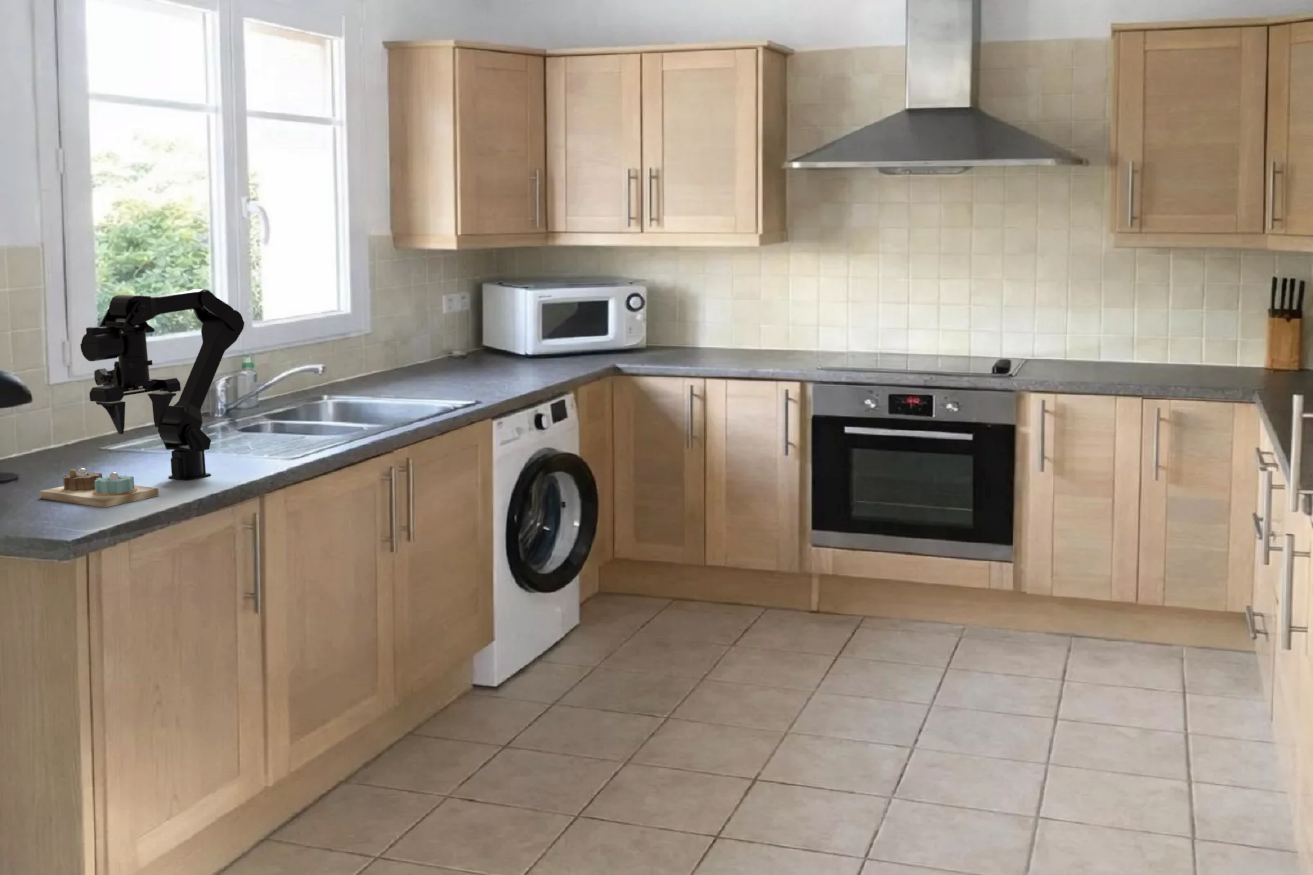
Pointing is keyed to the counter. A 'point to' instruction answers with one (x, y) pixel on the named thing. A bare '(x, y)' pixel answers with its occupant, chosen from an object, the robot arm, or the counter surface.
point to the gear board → (98, 496)
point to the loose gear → (114, 485)
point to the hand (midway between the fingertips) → (139, 430)
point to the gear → (80, 481)
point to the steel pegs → (83, 472)
